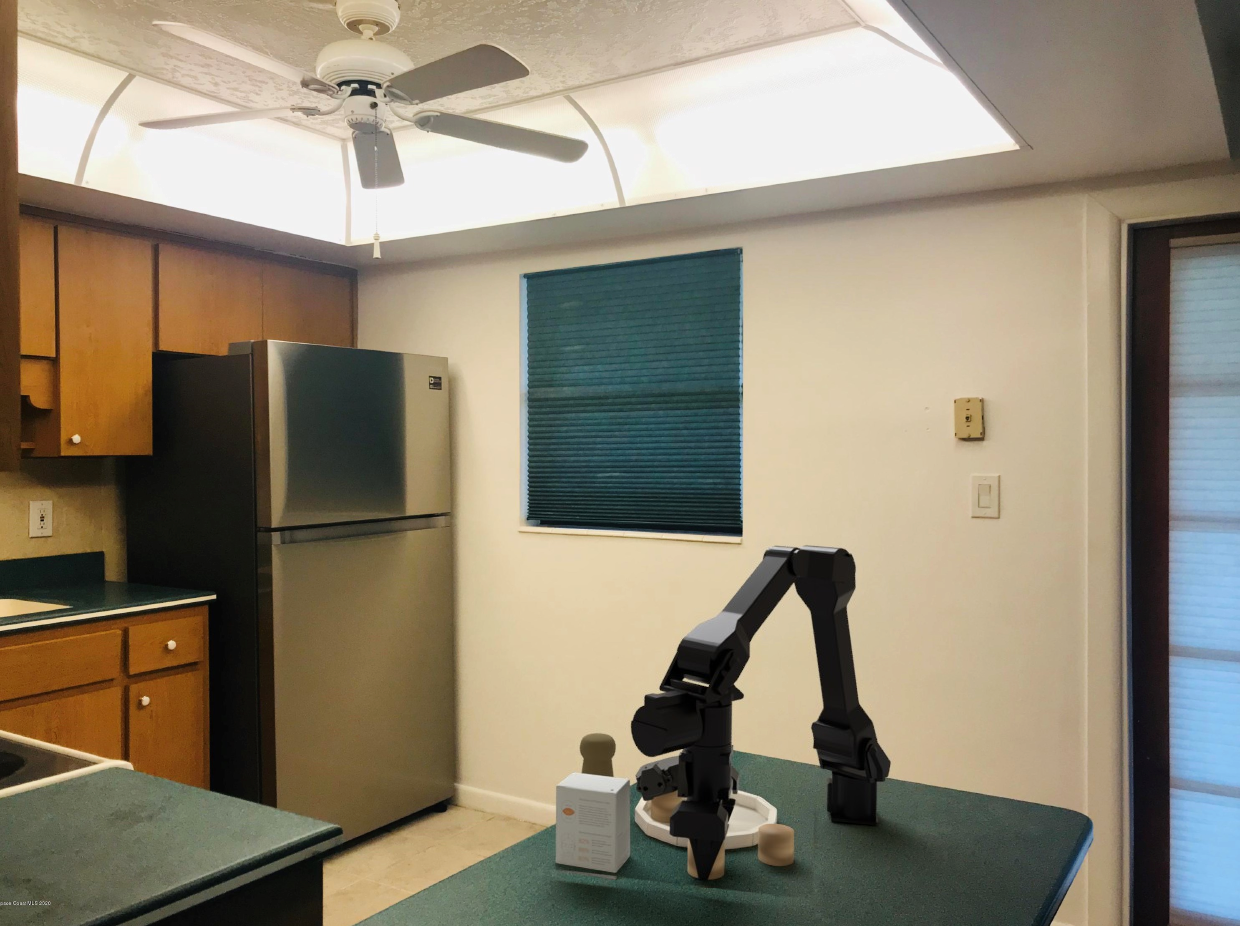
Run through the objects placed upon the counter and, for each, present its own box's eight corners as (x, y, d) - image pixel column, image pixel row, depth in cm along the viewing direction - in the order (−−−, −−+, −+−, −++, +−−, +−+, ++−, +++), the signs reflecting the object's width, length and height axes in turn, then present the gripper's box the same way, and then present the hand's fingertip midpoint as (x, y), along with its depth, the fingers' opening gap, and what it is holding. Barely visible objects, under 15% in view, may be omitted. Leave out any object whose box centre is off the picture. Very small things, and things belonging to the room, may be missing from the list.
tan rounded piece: (725, 873, 112) (726, 836, 112) (722, 889, 108) (722, 850, 108) (690, 869, 113) (690, 833, 113) (684, 885, 108) (685, 847, 109)
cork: (612, 821, 128) (614, 742, 128) (571, 817, 129) (572, 739, 129) (621, 806, 134) (622, 730, 134) (581, 802, 135) (582, 727, 135)
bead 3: (794, 861, 116) (794, 825, 116) (793, 875, 112) (793, 838, 112) (759, 857, 117) (759, 822, 117) (756, 871, 113) (757, 835, 113)
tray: (779, 810, 133) (779, 792, 133) (771, 863, 115) (772, 842, 115) (650, 798, 138) (651, 780, 138) (623, 847, 119) (624, 827, 119)
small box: (630, 862, 115) (632, 778, 115) (615, 881, 109) (617, 792, 109) (571, 853, 117) (572, 770, 117) (553, 870, 112) (555, 784, 112)
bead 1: (684, 812, 129) (685, 780, 129) (679, 824, 125) (680, 791, 125) (653, 809, 130) (654, 777, 130) (648, 821, 126) (648, 788, 126)
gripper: (655, 715, 121) (653, 834, 121) (626, 757, 103) (623, 897, 103) (740, 722, 119) (738, 843, 119) (725, 766, 101) (723, 909, 100)
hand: (705, 870), depth 110 cm, fingers closed on tan rounded piece, 4 cm apart
